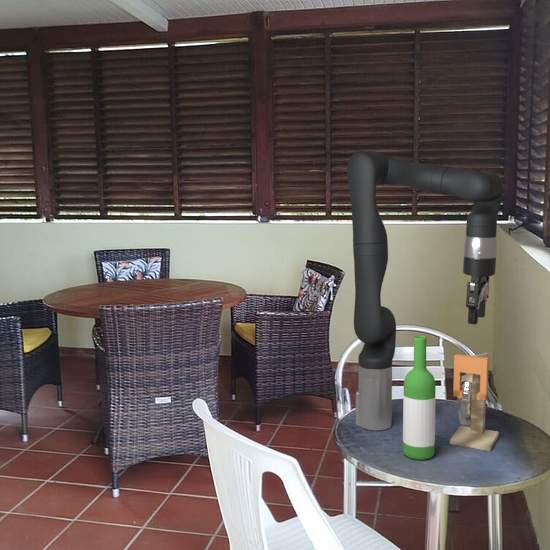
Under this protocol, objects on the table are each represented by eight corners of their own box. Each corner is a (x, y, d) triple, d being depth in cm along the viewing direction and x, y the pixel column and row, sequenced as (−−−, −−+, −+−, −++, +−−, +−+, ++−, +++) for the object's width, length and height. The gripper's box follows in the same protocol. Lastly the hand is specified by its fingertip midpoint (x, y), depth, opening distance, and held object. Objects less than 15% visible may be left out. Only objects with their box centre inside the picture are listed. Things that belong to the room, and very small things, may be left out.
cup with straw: (452, 416, 191) (454, 348, 188) (485, 419, 189) (487, 350, 186) (452, 427, 183) (454, 356, 180) (486, 429, 181) (489, 358, 178)
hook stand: (447, 448, 169) (448, 371, 166) (460, 429, 181) (462, 358, 178) (487, 455, 164) (490, 377, 161) (498, 435, 176) (500, 362, 174)
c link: (453, 396, 168) (454, 355, 166) (455, 394, 169) (456, 354, 168) (485, 401, 164) (487, 359, 162) (487, 398, 165) (488, 357, 164)
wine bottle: (396, 451, 167) (397, 335, 163) (421, 446, 170) (423, 332, 166) (415, 463, 160) (416, 342, 156) (441, 457, 163) (443, 338, 159)
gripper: (470, 251, 169) (467, 313, 171) (457, 257, 157) (454, 324, 159) (501, 252, 165) (497, 316, 168) (490, 259, 153) (486, 328, 156)
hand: (476, 320), depth 164 cm, fingers open, 8 cm apart
